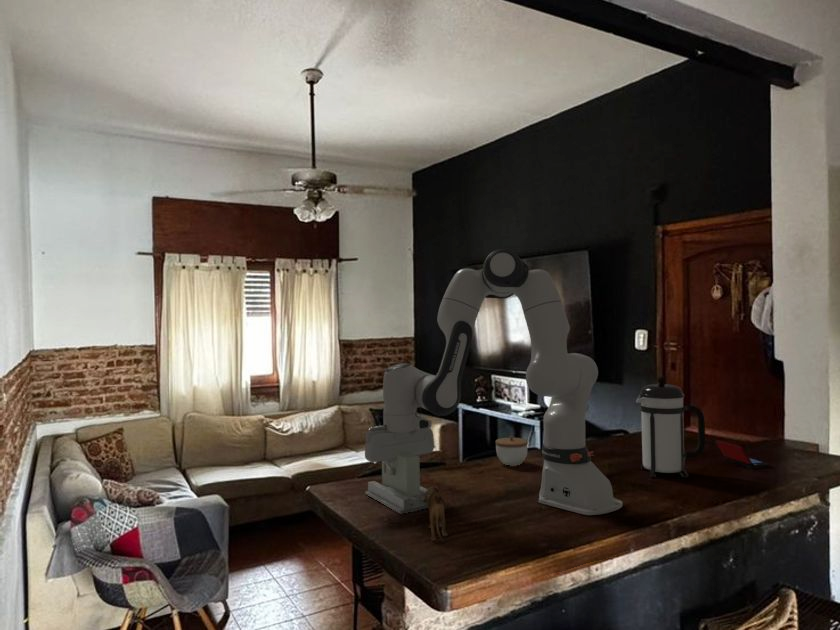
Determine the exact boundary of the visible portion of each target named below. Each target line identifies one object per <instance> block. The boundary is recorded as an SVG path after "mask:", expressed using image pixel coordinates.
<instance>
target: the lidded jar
mask: <svg viewBox="0 0 840 630" xmlns="http://www.w3.org/2000/svg"><path fill="white" fill-rule="evenodd" d="M528 445H529V443H528V440H527V439H525V438H520V437H514V436H513V435H509V437H501V438H498V439H496V440H495V450H496V456H497V458H498V459H499V461H500V462H501V463H502V464H503V465H504V464H505V465H504V466H506V465H510V466H509V467H517V465H519V466H521V465H522V463H523V462H524V461H525V460H526V458H527V455H528ZM520 464H521V465H520Z"/></svg>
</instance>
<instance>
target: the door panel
mask: <svg viewBox="0 0 840 630" xmlns="http://www.w3.org/2000/svg"><path fill="white" fill-rule="evenodd" d="M390 465H391V466H392V468H395V469H396V471H395V473H396V474H395V475H392V476H390V475H388V468H387V467H386V465H385V463H384V461H381V482H382V484H381V485H383V486H385V487H390V488H392V489H394V490H396V491H397V492H399V493H401V494H403V495H405V496H412V495H416V494H420V486H421V481H420V480H421V478H420V477H421V475H420V472H421V471H420V455H415V454H412V453H404V454H398V455H397V459H392V463H390Z"/></svg>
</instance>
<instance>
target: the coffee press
mask: <svg viewBox="0 0 840 630" xmlns="http://www.w3.org/2000/svg"><path fill="white" fill-rule="evenodd" d="M657 382H658V383H655V384H654V383H651V384H647V385H645V386H643V387H642V388H641V391H640V392H639V395H638V396H637V398H636V400H635V403H637V404H640V405H639V406H640V407H639V408H640V411H641V446H642V448H641V450H642V451H641V453H642V457H641V458H642V463H640V465H639V469H640V470H642V468H644V470H645V469H647V470H649V478H652V477H654V476H655V478H656V477H657V474H659V473H664V474H665V473H666V474H674V473H677V474H678V475H680V476H681V477H682V478H683V477H684V476H685V478H688V477H689V473H688V472H687V470H686V468H685V460H686V458H687V459H688V458H696V457H698V456H700V455H702V453H703V452H704V450H705V446H706V426H705V415H704V414H703V412H702V410H701V409H700V408H698V407H696V406H694V405H690V404H687V405H684V397H685V393H683V390H682V388H680V386H677V385H673V384H667V383H666V384H665V382H666V378H665V377H664V376H659V377H658V378H657ZM685 411H688V412H692V413H694V414H695V416H696V418H697V434H698V435H697V437H698V438H697V441H698V442H697V447H696V448H695V450H692V451H685V437H684V436H685V429H684V427H685V425H684V413H685ZM682 471H683V473H682ZM684 474H685V475H684ZM685 478H684V479H685Z"/></svg>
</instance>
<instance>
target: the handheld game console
mask: <svg viewBox="0 0 840 630" xmlns="http://www.w3.org/2000/svg"><path fill="white" fill-rule="evenodd" d="M715 443H716V444H717V446H718V448H719V450H720V451H721V453H722V455H723V457H724V458H723V459H726V460H730V461H732V462H731V463H733V462H736V463H739V464H738V465H740V464H741V465H740V466H742V465H743V466H742V467H745V466H746V467H745V468H748V469H751V468H755V469H764V468H765V467H767V468H770V467H771V463H767V462H765V461H762V460H758V459H755V458H752V457H749V455H748V453H747V452H746V450H745V449H744V447H743V446H742V445H741V446H740V445H738V444H734V443H730V442H727V441H722V440H719V439H715ZM726 460H725V461H726ZM730 461H729V462H730ZM736 463H735V464H736ZM765 469H766V468H765Z"/></svg>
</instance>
